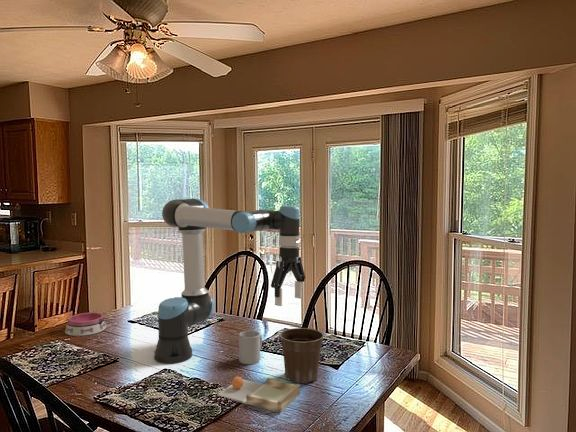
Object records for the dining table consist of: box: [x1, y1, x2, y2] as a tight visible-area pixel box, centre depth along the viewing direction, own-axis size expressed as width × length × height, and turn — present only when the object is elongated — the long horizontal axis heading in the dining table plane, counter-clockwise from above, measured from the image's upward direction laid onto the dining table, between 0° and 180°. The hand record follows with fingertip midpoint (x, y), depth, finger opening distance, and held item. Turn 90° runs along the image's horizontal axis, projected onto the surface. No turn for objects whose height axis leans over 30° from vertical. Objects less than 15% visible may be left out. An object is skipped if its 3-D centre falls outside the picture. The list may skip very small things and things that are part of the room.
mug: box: [238, 330, 263, 365], centre depth 182 cm, size 12×8×11 cm
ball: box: [231, 376, 243, 389], centre depth 154 cm, size 4×4×4 cm
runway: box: [216, 378, 301, 414], centre depth 151 cm, size 24×14×1 cm, turn 63°
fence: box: [246, 378, 301, 414], centre depth 148 cm, size 12×14×4 cm
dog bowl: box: [64, 311, 108, 337], centre depth 217 cm, size 18×19×7 cm
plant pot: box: [279, 327, 325, 384], centre depth 165 cm, size 16×16×16 cm
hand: (288, 301), depth 171 cm, fingers open, 13 cm apart
